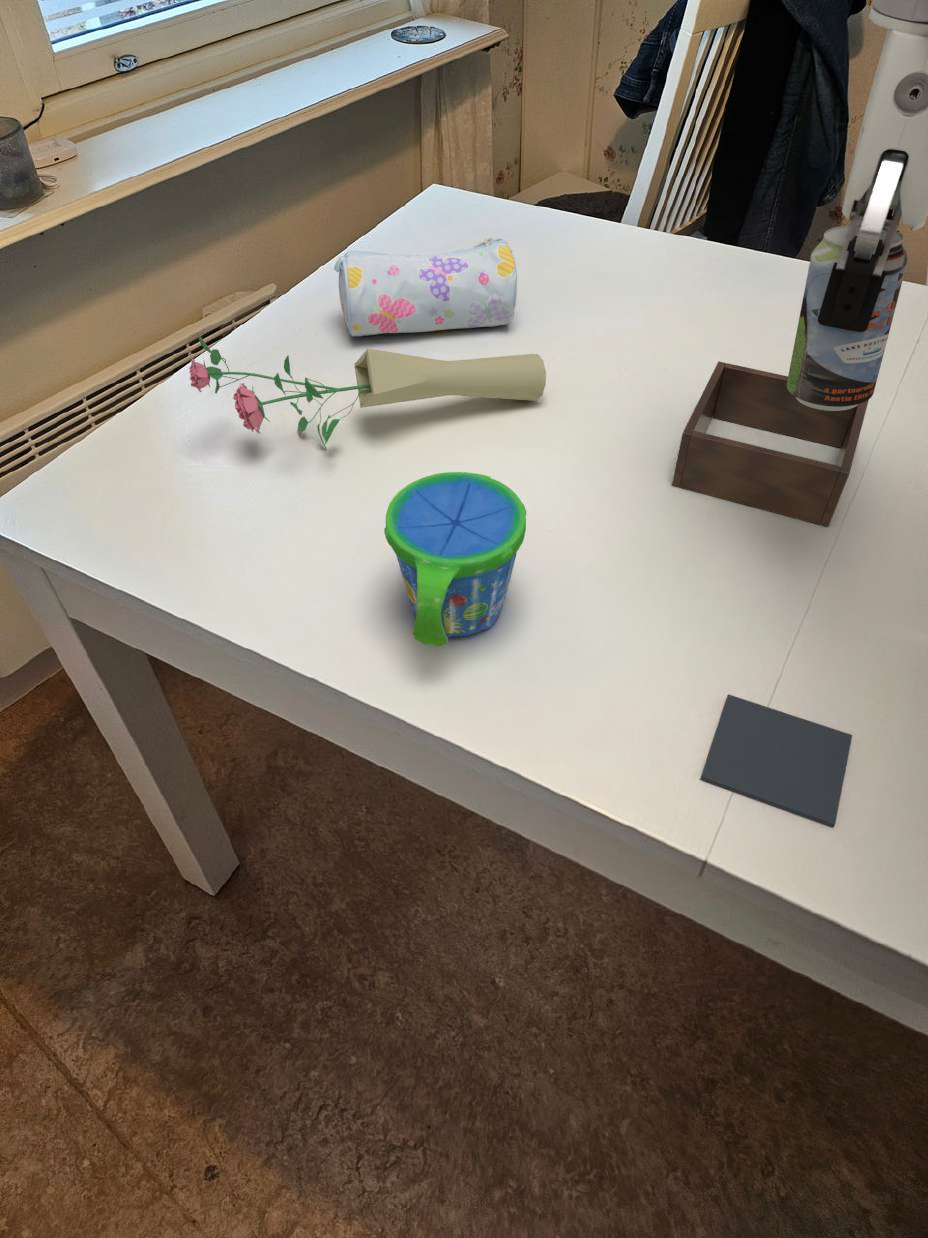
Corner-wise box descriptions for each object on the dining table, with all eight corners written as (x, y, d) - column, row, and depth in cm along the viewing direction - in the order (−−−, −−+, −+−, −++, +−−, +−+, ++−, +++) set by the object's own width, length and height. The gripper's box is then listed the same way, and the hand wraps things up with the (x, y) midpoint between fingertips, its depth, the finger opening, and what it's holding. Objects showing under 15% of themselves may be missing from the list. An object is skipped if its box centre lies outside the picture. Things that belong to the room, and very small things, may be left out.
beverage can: (809, 430, 62) (859, 267, 53) (760, 377, 67) (798, 219, 58) (887, 414, 63) (949, 251, 54) (833, 363, 68) (881, 206, 59)
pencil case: (506, 301, 108) (508, 224, 102) (523, 335, 103) (526, 256, 96) (339, 318, 106) (329, 240, 99) (346, 354, 100) (336, 274, 93)
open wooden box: (850, 445, 87) (870, 393, 83) (828, 526, 79) (849, 473, 74) (706, 412, 91) (718, 360, 87) (671, 485, 83) (682, 432, 79)
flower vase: (524, 474, 97) (200, 493, 82) (489, 390, 102) (179, 395, 87) (566, 400, 87) (208, 407, 73) (526, 312, 92) (183, 303, 78)
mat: (850, 738, 63) (852, 734, 63) (833, 827, 58) (834, 824, 58) (727, 697, 66) (728, 693, 65) (700, 779, 61) (701, 776, 60)
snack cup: (484, 695, 66) (486, 601, 58) (359, 658, 68) (345, 563, 61) (546, 563, 76) (554, 468, 68) (434, 534, 78) (430, 441, 71)
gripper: (1019, 33, 41) (890, 376, 54) (1029, -35, 52) (919, 265, 65) (854, 19, 43) (768, 351, 56) (896, -43, 54) (815, 248, 67)
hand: (849, 302), depth 60 cm, fingers closed on beverage can, 6 cm apart
